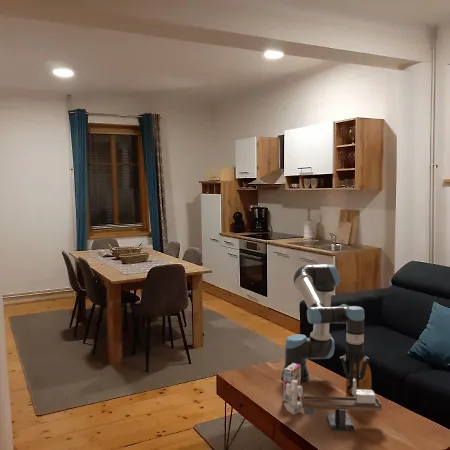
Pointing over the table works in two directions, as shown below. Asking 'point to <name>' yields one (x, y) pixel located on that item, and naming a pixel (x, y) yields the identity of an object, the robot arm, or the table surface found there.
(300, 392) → the figurine
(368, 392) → the block
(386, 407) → the table surface
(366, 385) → the coffee package
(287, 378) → the candy bar box
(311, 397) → the beam
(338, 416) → the pivot stand
